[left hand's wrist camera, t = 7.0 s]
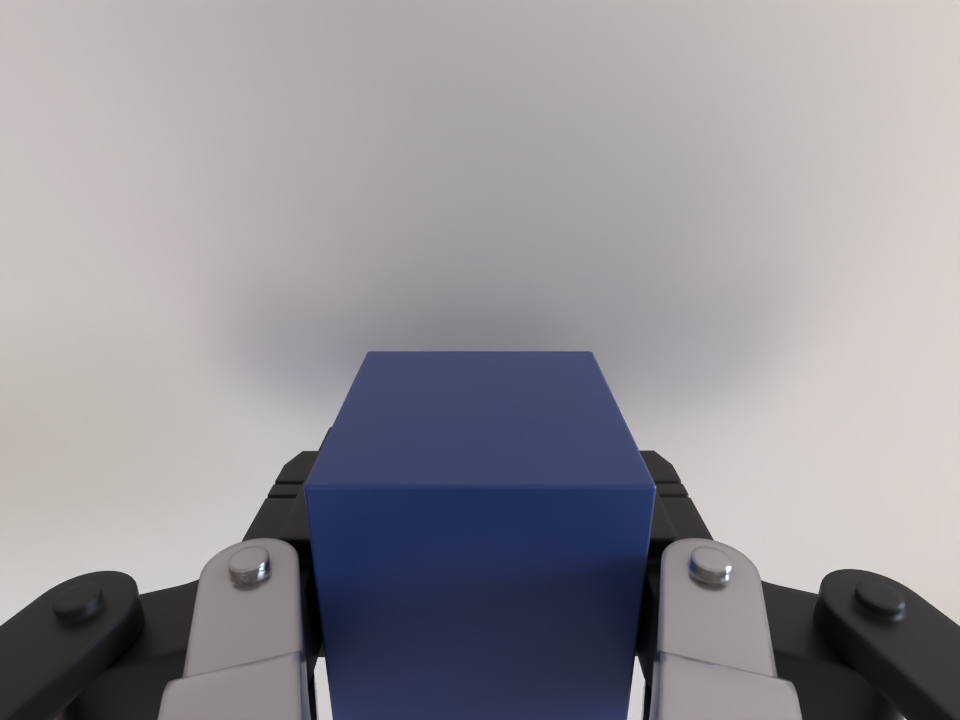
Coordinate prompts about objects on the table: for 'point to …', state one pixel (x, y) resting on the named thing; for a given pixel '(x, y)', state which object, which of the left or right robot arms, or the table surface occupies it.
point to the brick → (479, 540)
